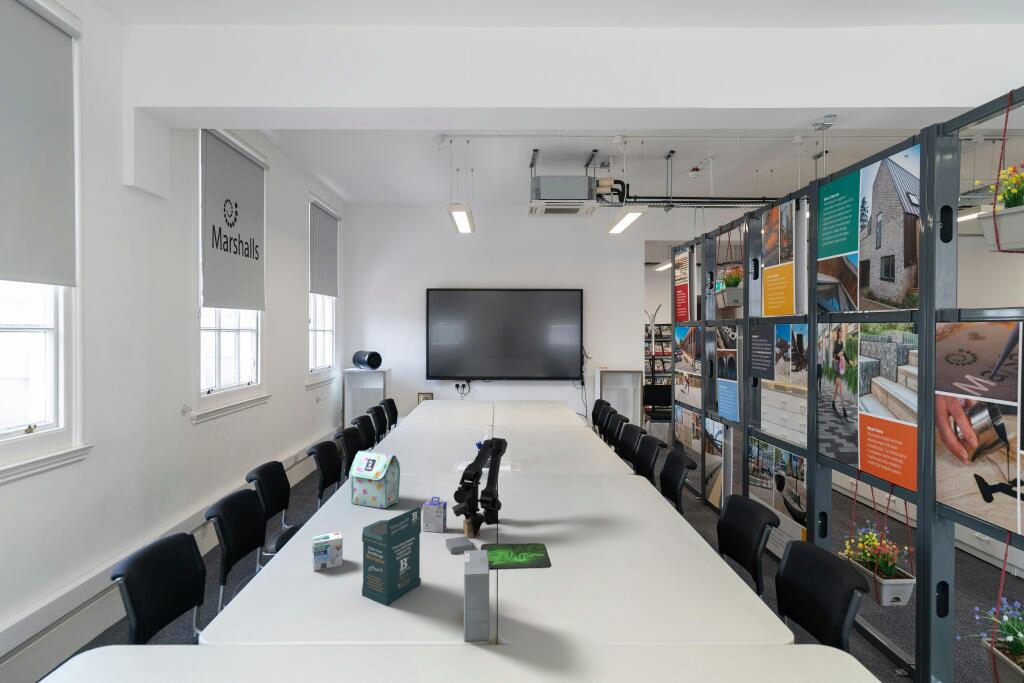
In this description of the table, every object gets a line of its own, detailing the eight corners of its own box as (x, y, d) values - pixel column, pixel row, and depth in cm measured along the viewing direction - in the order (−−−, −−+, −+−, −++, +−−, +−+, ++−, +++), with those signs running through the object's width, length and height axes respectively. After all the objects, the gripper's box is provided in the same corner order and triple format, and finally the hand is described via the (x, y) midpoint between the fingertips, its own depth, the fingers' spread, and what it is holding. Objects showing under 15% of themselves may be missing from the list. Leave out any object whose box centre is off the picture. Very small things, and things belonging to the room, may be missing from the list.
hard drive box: (464, 611, 156) (464, 549, 156) (487, 610, 157) (488, 549, 157) (463, 642, 141) (463, 573, 140) (489, 641, 141) (490, 572, 141)
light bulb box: (313, 571, 182) (313, 542, 181) (311, 564, 188) (311, 536, 187) (343, 565, 187) (343, 537, 186) (340, 558, 193) (340, 531, 192)
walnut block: (476, 531, 220) (476, 517, 220) (480, 536, 215) (480, 522, 214) (463, 533, 218) (463, 519, 218) (467, 538, 212) (467, 524, 212)
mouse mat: (544, 543, 208) (544, 541, 208) (553, 568, 186) (553, 566, 186) (480, 545, 206) (480, 543, 206) (481, 571, 184) (481, 568, 184)
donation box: (386, 606, 159) (387, 520, 159) (353, 592, 168) (353, 511, 167) (420, 584, 173) (421, 506, 172) (388, 572, 181) (388, 497, 181)
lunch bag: (346, 505, 252) (346, 453, 251) (367, 495, 267) (367, 446, 266) (383, 511, 243) (383, 457, 242) (402, 501, 258) (403, 450, 258)
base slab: (466, 542, 208) (466, 536, 208) (472, 551, 200) (472, 544, 200) (445, 546, 205) (445, 539, 205) (451, 555, 197) (451, 547, 197)
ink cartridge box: (447, 528, 223) (447, 496, 223) (443, 533, 218) (443, 500, 217) (426, 526, 225) (426, 495, 224) (422, 531, 219) (422, 499, 219)
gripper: (448, 492, 222) (448, 526, 222) (460, 505, 204) (460, 543, 205) (472, 489, 226) (472, 523, 226) (485, 502, 208) (485, 538, 209)
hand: (471, 531), depth 216 cm, fingers open, 9 cm apart
